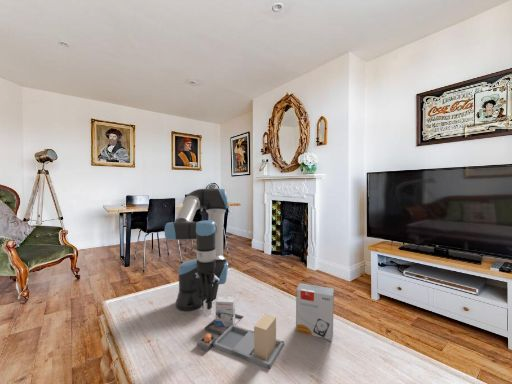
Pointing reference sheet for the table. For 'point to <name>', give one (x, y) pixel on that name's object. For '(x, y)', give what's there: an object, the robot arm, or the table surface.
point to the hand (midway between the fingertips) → (207, 315)
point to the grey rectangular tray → (244, 345)
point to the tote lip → (216, 330)
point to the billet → (265, 337)
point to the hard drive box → (315, 310)
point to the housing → (205, 345)
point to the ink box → (225, 311)
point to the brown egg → (207, 338)
